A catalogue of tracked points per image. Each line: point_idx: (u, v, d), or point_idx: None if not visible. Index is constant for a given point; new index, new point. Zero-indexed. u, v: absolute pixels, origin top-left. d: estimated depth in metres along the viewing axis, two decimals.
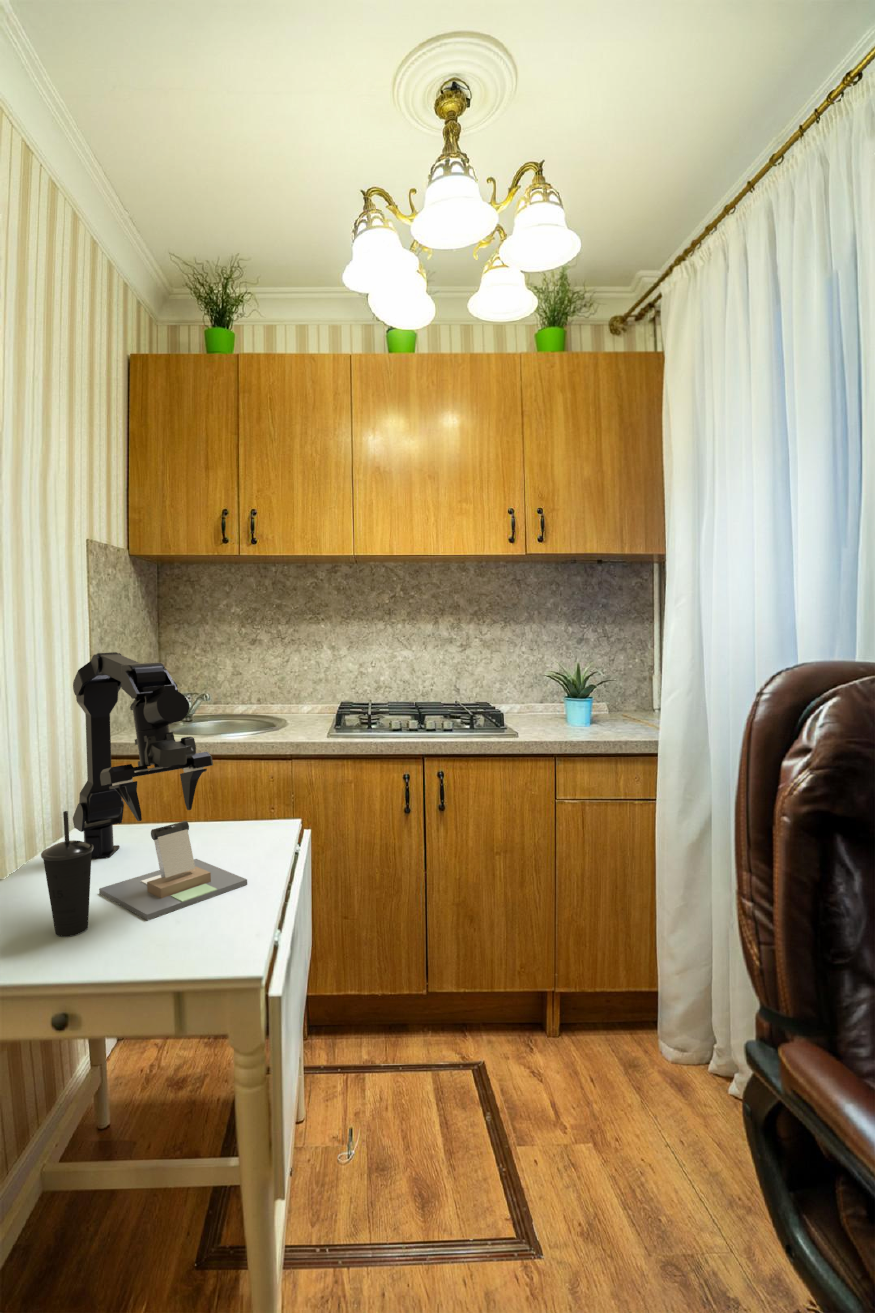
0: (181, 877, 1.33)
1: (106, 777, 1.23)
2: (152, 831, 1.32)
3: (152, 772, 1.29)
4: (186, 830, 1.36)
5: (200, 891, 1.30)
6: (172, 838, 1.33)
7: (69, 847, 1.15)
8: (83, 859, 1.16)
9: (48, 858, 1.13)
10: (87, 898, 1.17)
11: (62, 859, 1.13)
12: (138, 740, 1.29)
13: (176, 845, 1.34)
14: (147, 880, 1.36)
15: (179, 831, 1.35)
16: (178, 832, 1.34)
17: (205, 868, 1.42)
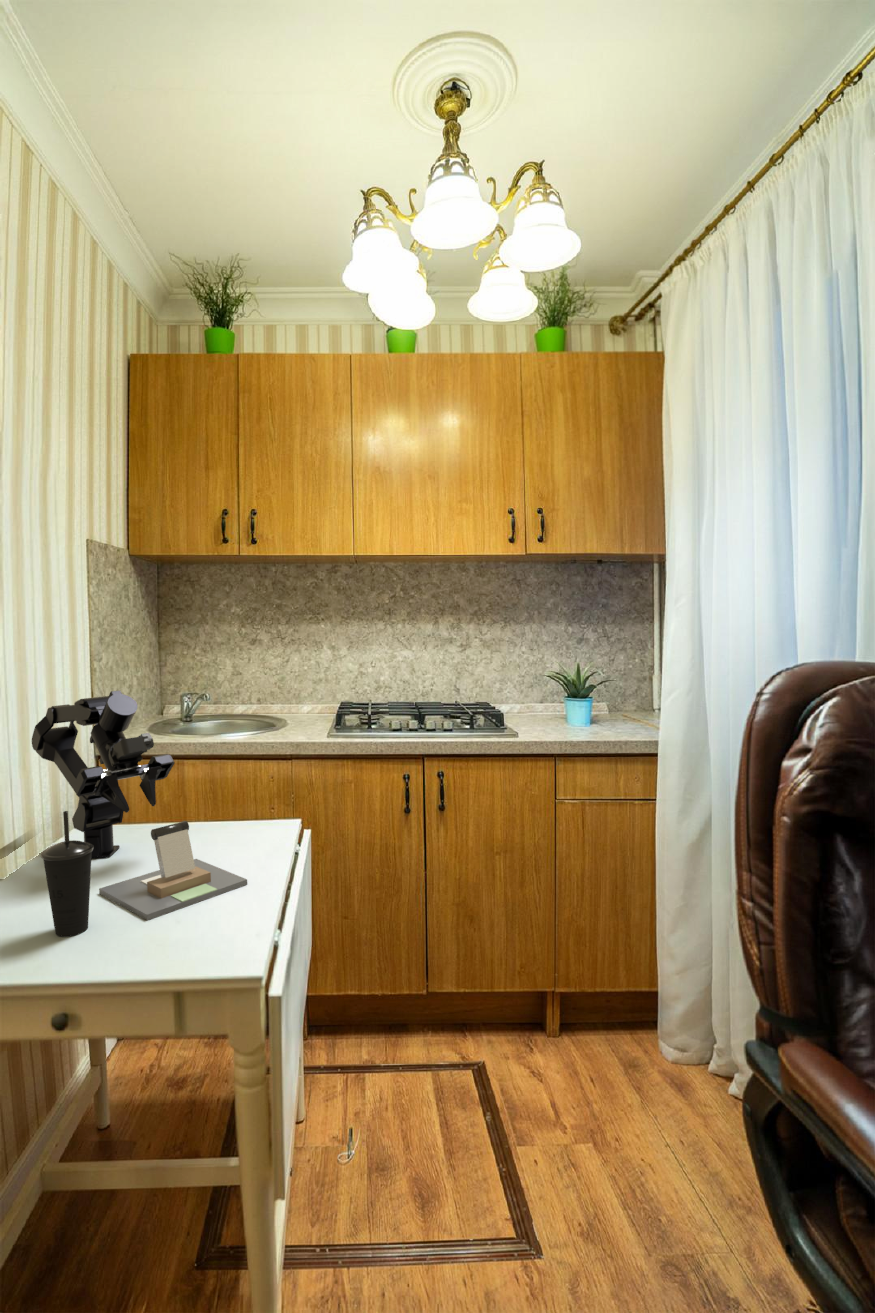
0: (181, 877, 1.33)
1: (78, 780, 1.37)
2: (152, 831, 1.32)
3: (120, 775, 1.43)
4: (186, 830, 1.36)
5: (200, 891, 1.30)
6: (172, 838, 1.33)
7: (69, 847, 1.15)
8: (83, 859, 1.16)
9: (48, 858, 1.13)
10: (87, 898, 1.17)
11: (62, 859, 1.13)
12: (101, 754, 1.45)
13: (176, 845, 1.34)
14: (147, 880, 1.36)
15: (179, 831, 1.35)
16: (178, 832, 1.34)
17: (205, 868, 1.42)
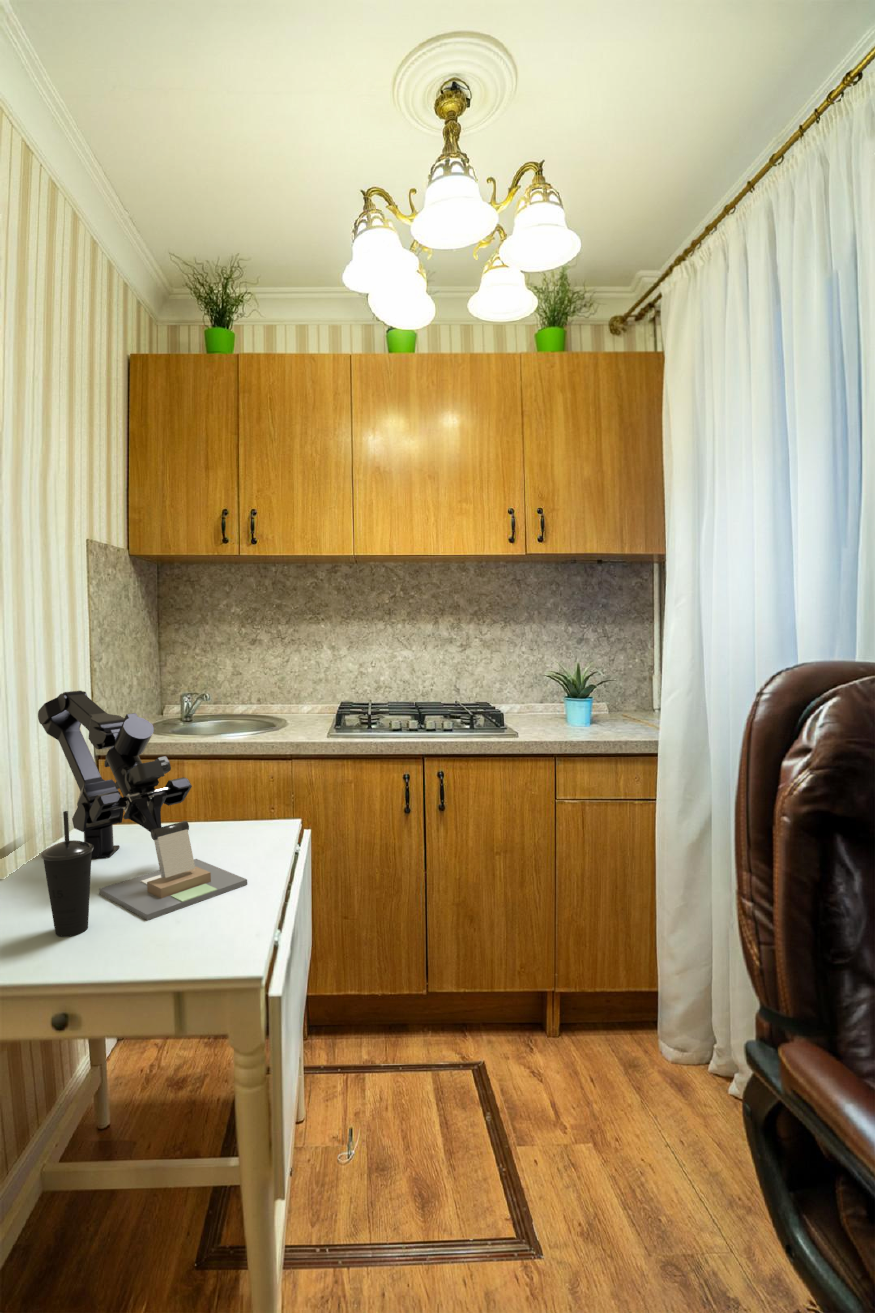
0: (181, 877, 1.33)
1: (95, 807, 1.33)
2: (152, 831, 1.32)
3: None
4: (186, 830, 1.36)
5: (200, 891, 1.30)
6: (172, 838, 1.33)
7: (69, 847, 1.15)
8: (83, 859, 1.16)
9: (48, 858, 1.13)
10: (87, 898, 1.17)
11: (62, 859, 1.13)
12: (117, 778, 1.41)
13: (176, 845, 1.34)
14: (147, 880, 1.36)
15: (179, 831, 1.35)
16: (178, 832, 1.34)
17: (205, 868, 1.42)
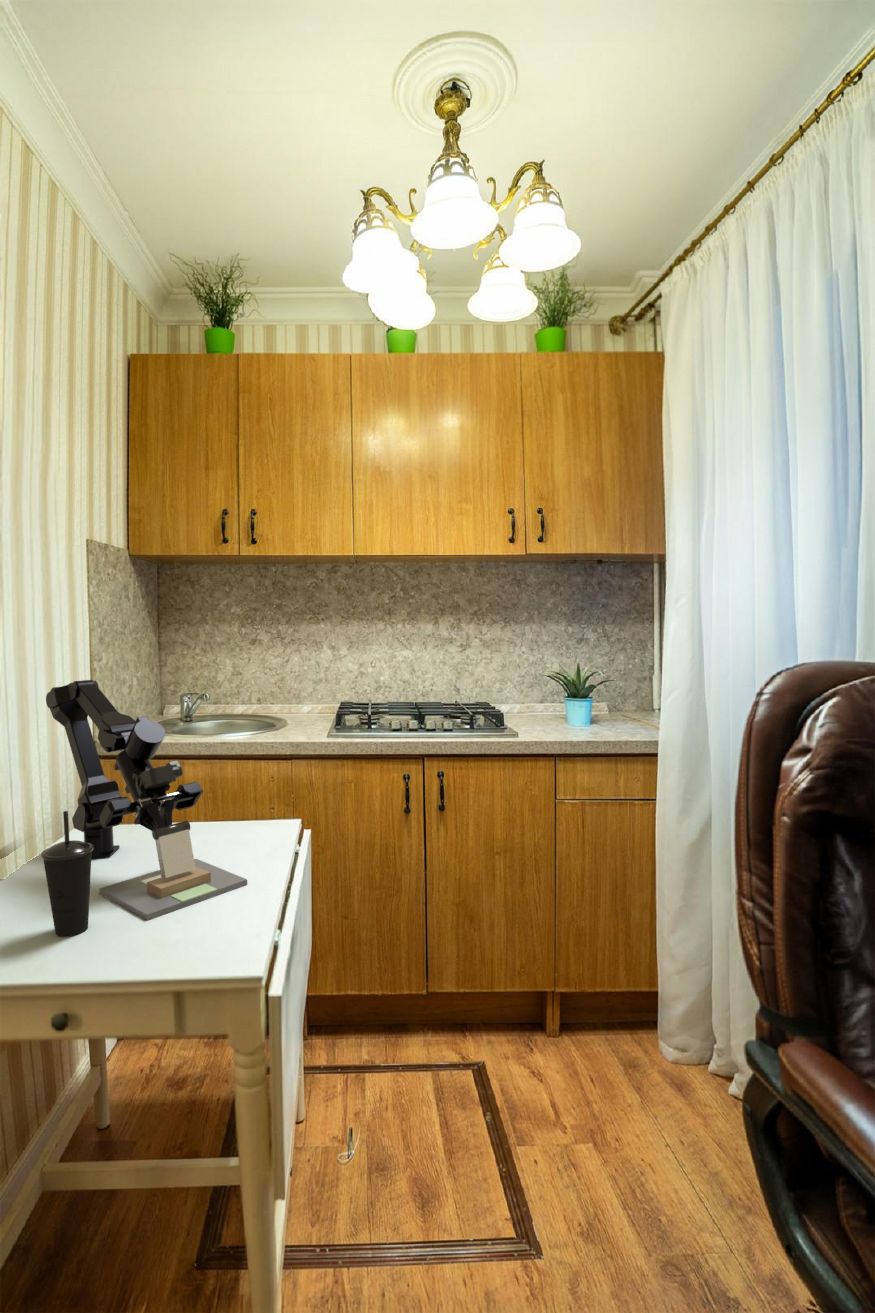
0: (181, 877, 1.33)
1: (105, 812, 1.31)
2: (153, 831, 1.32)
3: None
4: (187, 830, 1.35)
5: (200, 891, 1.30)
6: (173, 838, 1.33)
7: (69, 847, 1.15)
8: (83, 859, 1.16)
9: (48, 858, 1.13)
10: (87, 898, 1.17)
11: (62, 859, 1.13)
12: (128, 783, 1.38)
13: (177, 845, 1.33)
14: (147, 880, 1.36)
15: (180, 831, 1.34)
16: (179, 832, 1.34)
17: (205, 868, 1.42)
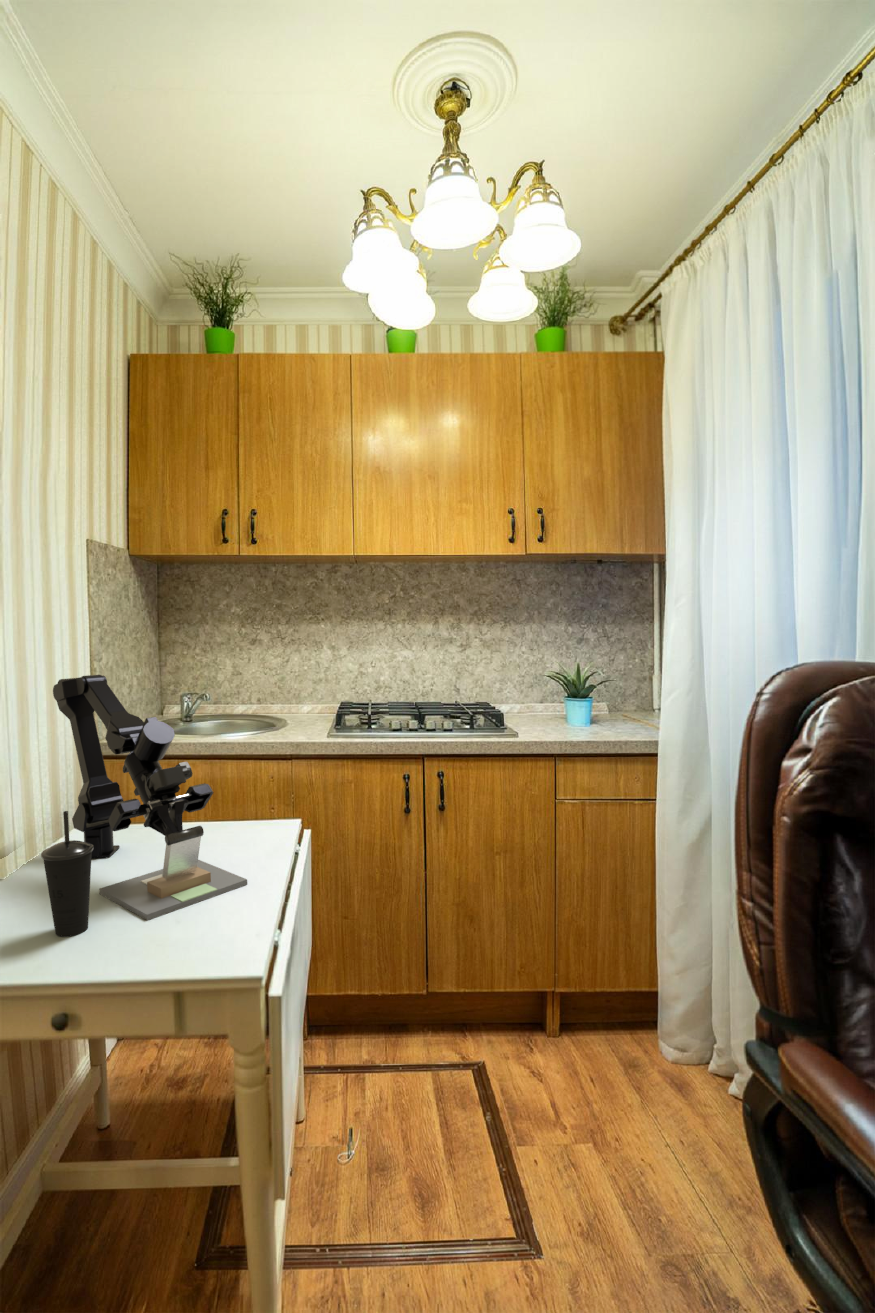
0: (181, 877, 1.33)
1: (114, 815, 1.28)
2: (167, 836, 1.28)
3: None
4: (199, 837, 1.33)
5: (200, 891, 1.30)
6: (184, 845, 1.31)
7: (69, 847, 1.15)
8: (83, 859, 1.16)
9: (48, 858, 1.13)
10: (87, 898, 1.17)
11: (62, 859, 1.13)
12: (137, 785, 1.36)
13: (186, 851, 1.31)
14: (147, 880, 1.36)
15: (193, 838, 1.32)
16: (191, 839, 1.31)
17: (205, 868, 1.42)
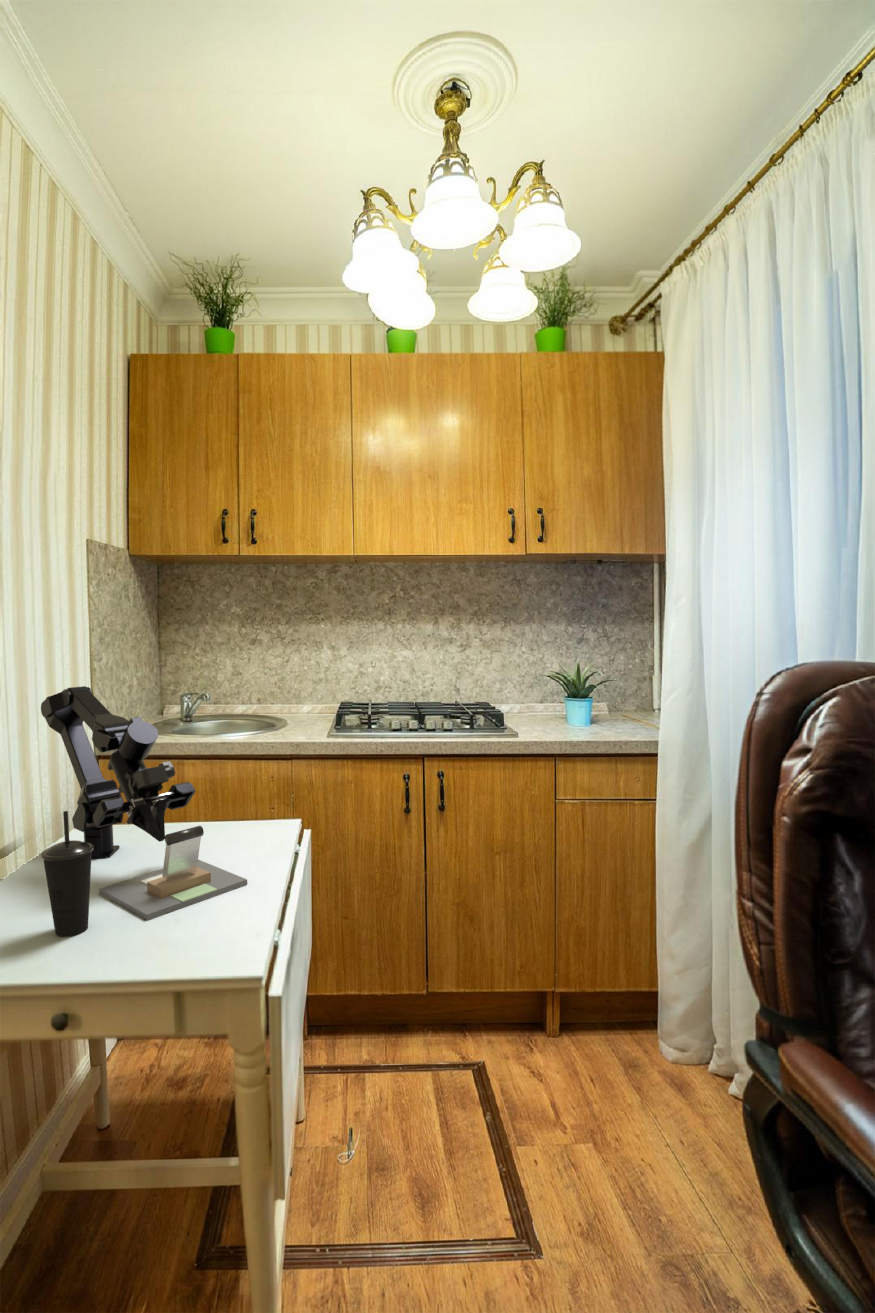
0: (181, 877, 1.33)
1: (98, 812, 1.32)
2: (167, 836, 1.28)
3: None
4: (199, 837, 1.33)
5: (200, 891, 1.30)
6: (184, 845, 1.31)
7: (69, 847, 1.15)
8: (83, 859, 1.16)
9: (48, 858, 1.13)
10: (87, 898, 1.17)
11: (62, 859, 1.13)
12: (121, 782, 1.40)
13: (186, 851, 1.31)
14: (147, 880, 1.36)
15: (193, 838, 1.32)
16: (191, 839, 1.31)
17: (205, 868, 1.42)
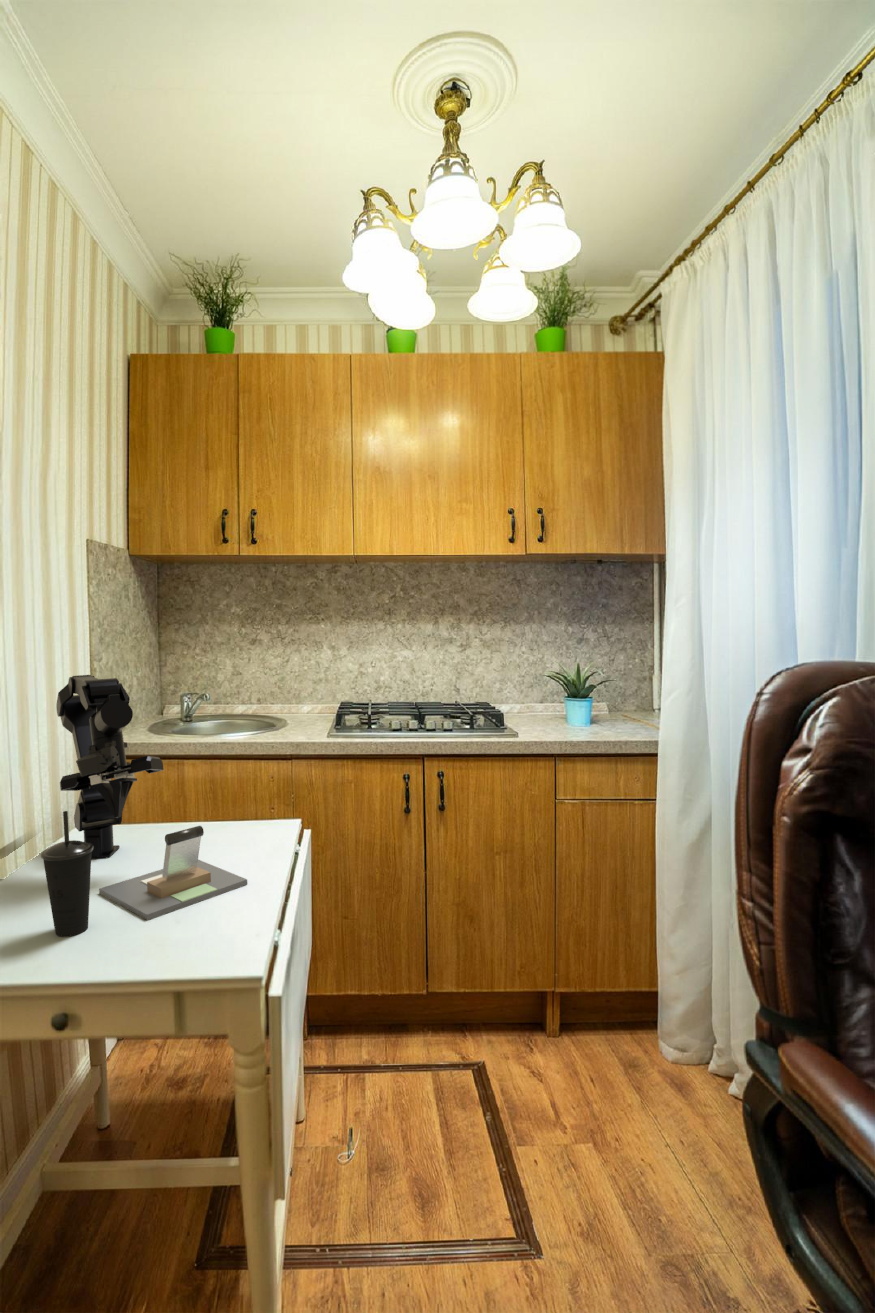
0: (181, 877, 1.33)
1: None
2: (167, 836, 1.28)
3: None
4: (199, 837, 1.33)
5: (200, 891, 1.30)
6: (184, 845, 1.31)
7: (69, 847, 1.15)
8: (83, 858, 1.16)
9: (48, 858, 1.13)
10: (87, 898, 1.17)
11: (62, 859, 1.13)
12: None
13: (186, 851, 1.31)
14: (147, 880, 1.36)
15: (193, 838, 1.32)
16: (191, 839, 1.31)
17: (205, 868, 1.42)
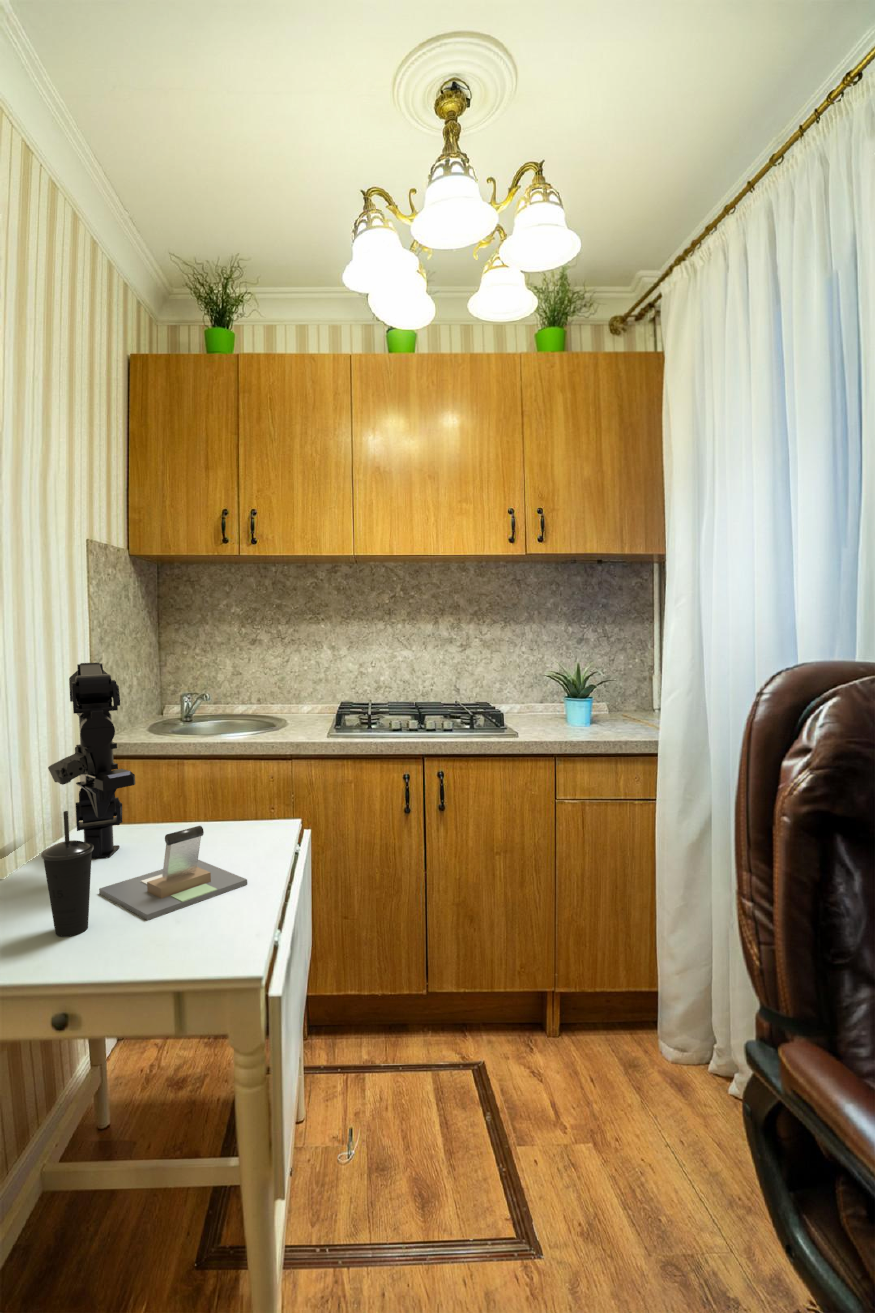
0: (181, 877, 1.33)
1: None
2: (167, 836, 1.28)
3: None
4: (199, 837, 1.33)
5: (200, 891, 1.30)
6: (184, 845, 1.31)
7: (69, 847, 1.15)
8: (83, 858, 1.16)
9: (48, 858, 1.13)
10: (87, 898, 1.17)
11: (62, 859, 1.13)
12: None
13: (186, 851, 1.31)
14: (147, 880, 1.36)
15: (193, 838, 1.32)
16: (191, 839, 1.31)
17: (205, 868, 1.42)
